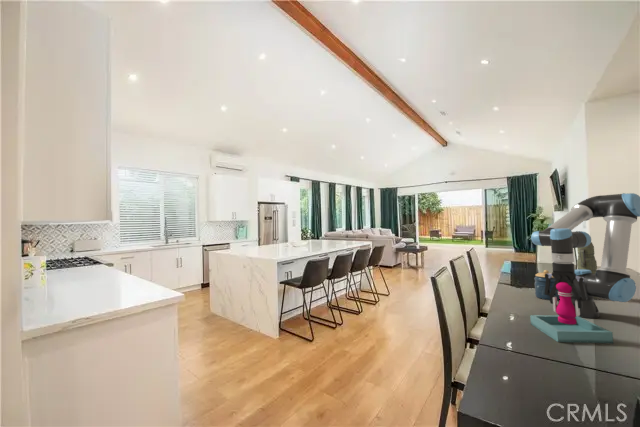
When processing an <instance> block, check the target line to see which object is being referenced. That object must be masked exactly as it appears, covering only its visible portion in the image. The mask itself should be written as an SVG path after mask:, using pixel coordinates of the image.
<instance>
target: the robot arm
mask: <svg viewBox="0 0 640 427" xmlns="http://www.w3.org/2000/svg"><path fill="white" fill-rule="evenodd" d="M638 217H640V195H639V194H637V193H634V192H633V193H632V192H629V193H626V192H625V193H624V192H622V193H615V194H606V195H605V194H604V195H601V194H600V195H596V196H595V195H594V196H591V197H588V198H586V199H584V200H582V201H580V202H578V203H576V204H574V206H572V207H571V209H570V211H569V212H567V213H566V214H564V215H563V216H561V217H560V218H558V219H557V220H556V221H555V222H553V223H552V224H550V225H549V226H548V227H547V228H545V229H543V230H536V231H533V232H532V234H531V238H530V239H531V242H532V244H534V245H535V246H542V247H551V252H550V253H551V261H552V263H551V266H552V267H551V268H552V272H550V273H551V274H548V273H547V274H545V278H546V283H545V295H548V296H550V300H549V301H550V302H549V303H550V304H552V309H553V312H554V313H556V308H557V305H558V300H557V297H556V296H555V293H556V291H557V288H556V284H558V283H559V282H566V283H568V285H569V286H571V287H572V295H573V296H571V300H572V303H573V305H574V307H575V309H576V316H579V317H581V318H583V319H585V318H586V319H596V318H599V317H600V311H599V308H598V307H597V306H598V305H596V303H595V300H593V297H597V298H599V299H604V300H608V301H612V302H620V303H626V302H629V301H631V300H632V299H633V297H634V296H635V294H636V291H637V285H636V281H635V280H634V279H633V278H631V274H629V273H628V272H627V266H628V258H629V251H630V244H631V243H630V242H631V235H632V234H631V232H632V225H633V224H635V223H636V222H637V221H638ZM592 218H593V219H594V218H602V219H603V220H604V221H605V222H606V227H605V233H604V242H603V248H602V256H601V262H600V264H601V265H600V267H599V268H597V269H596V274H592V272H591V270H585V269H578V268H577V269H575V263H574V262H575V258H574V257H575V256H574V249H577V248H582V247H586V246H588V245H589V244H590V243H591V242H592V237H591V235H590V234H589V233H587V232H586V231H580V230H579V231H578V230H576V231H573V230H574V229H576V228H577V227H578V226H579V225H581V224H582V223H583V222H586V221H589V220H591V219H592ZM552 276H553V277H554V278H555V279H556V281H555V284H554V286H553V288H552V291H551V293H550V282H551V278H552Z"/></svg>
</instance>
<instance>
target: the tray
mask: <svg viewBox="0 0 640 427" xmlns="http://www.w3.org/2000/svg"><path fill="white" fill-rule="evenodd" d="M558 316H559V315H558V314H555V315H554V314H553V315H549V314H547V315H546V314H545V315H543V314H534V315H532V314H530V316H529V317H530V318H529V319H530V325H532V326H533V327H534V328H535V329H537V330H539V331H540V332H542V333H543V334H545V335H546V336H547V337H549V338H551V339H552V340H554V341H556V342H557V343H578V344H579V343H580V344H583V343H584V344H585V343H586V344H588V343H589V344H614V336H613V332H612V331H611V330H609V329H606V328H604V327H602V326H600V325H597V324H596V323H593V322H591V321H589V320H586V319H585V318H583V317H579V316H576V317H575V319H576V324H574V325H570V324H564V323H561V322H559V321H558Z"/></svg>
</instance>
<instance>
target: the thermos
mask: <svg viewBox="0 0 640 427" xmlns="http://www.w3.org/2000/svg"><path fill="white" fill-rule="evenodd" d="M594 246H595V245H594V244H593V242H592V241H591V243H590V244H589V245H588V246H586V247H582V248H576V250H577V255H578V256H577V260H576V263H577V264H576V265H577V269H585V270H591V272H592V274H596V269H598V263H597V260H596V256H595V247H594ZM593 300H594V301H595V300H600V298H597V297H593Z"/></svg>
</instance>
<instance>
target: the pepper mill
mask: <svg viewBox="0 0 640 427" xmlns="http://www.w3.org/2000/svg"><path fill="white" fill-rule="evenodd" d="M556 288H557V289H558V295H559V297H560V300H558V302H557V308H556V312H555V313H556V315H559V316H558V321H559V322H561V323H564V324H570V325H574V324H576V319H575V317H576V309H575V307H574V305H573V303H572V300H571V296H573V295H572V287H571V286H569V285H568V283H566V282H559V283H558V284H556Z"/></svg>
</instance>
